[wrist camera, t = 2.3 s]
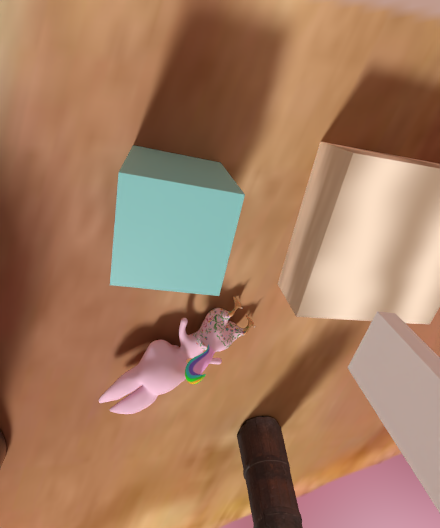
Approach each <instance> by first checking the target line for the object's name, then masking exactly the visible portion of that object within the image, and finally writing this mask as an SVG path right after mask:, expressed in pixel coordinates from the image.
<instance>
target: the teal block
mask: <svg viewBox="0 0 440 528" xmlns="http://www.w3.org/2000/svg"><path fill="white" fill-rule="evenodd" d="M244 196H245V194H244V193H243V192H242V190H241V189H240V188H239V186H238V185H237V184H236V182H235V181H234V180H233V178H232V177H231V176H230V174H229V173H228V172H227V170H226V169H225V168H224V166H223V165H222V164H221V163H220V162H215V161H210V160H205V159H200V158H195V157H190V156H185V155H180V154H175V153H170V152H165V151H160V150H155V149H150V148H145V147H140V146H135V145H133V147H132V148H131V150H130V152H129V154H128V156H127V158H126V160H125V162H124V163H123V165H122V167H121V169H120V171H119V175H118V188H117V201H116V214H115V227H114V239H113V252H112V265H111V278H110V285H115V286H125V287H135V288H145V289H155V290H165V291H175V292H185V293H194V294H204V295H214V296H219V295H220V291H221V287H222V283H223V279H224V275H225V271H226V267H227V263H228V259H229V255H230V251H231V247H232V243H233V240H234V236H235V232H236V228H237V224H238V220H239V216H240V212H241V208H242V204H243V200H244Z"/></svg>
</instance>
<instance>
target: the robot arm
mask: <svg viewBox="0 0 440 528" xmlns="http://www.w3.org/2000/svg"><path fill="white" fill-rule="evenodd" d="M348 369H349V371H350V372H351V374H352V376H353V377H354V379H355V380H356V382H357V383H358V385H359V387H360V388H361V390H362V391H363V393H364V394H365V396H366V398H367V399H368V401H369V402H370V404H371V406H372V407H373V409H374V410H375V412H376V413H377V415H378V417H379V418H380V420H381V421H382V423H383V424H384V426H385V428H386V429H387V431H388V432H389V434H390V435H391V437H392V439H393V440H394V442H395V443H396V445H397V446H398V448H399V450H400V451H401V453H402V454H403V456H404V457H405V459H406V461H407V462H408V464H409V465H410V467H411V468H412V470H413V472H414V473H415V475H416V476H417V478H418V479H419V481H420V482H421V484H422V486H423V487H424V489H425V490H426V492H427V493H428V495H429V497H430V498H431V500H432V501H433V503H434V505H435V506H436V508H437V509H438V511H439V512H440V358H439V357H438V356H437V355H436V354H435V353H434V352H433V351H432V350H431V349H430V348H429V347H428V346H427V345H426V344H425V343H424V342H423V341H422V340H421V339H420V338H419V337H418V336H417V335H416V334H415V333H414V332H413V331H412V330H411V329H410V328H409V327H408V325H407V324H406V323H405V322H404V321H403V320H402V319H401V318H400V317H399V316H398V315H397V314H396V313H388V312H378V311H377V313H376V315H375V317H374V318H373V320H372V322H371V324H370V326H369V328H368V330H367V332H366V334H365V336H364V337H363V339H362V341H361V343H360V345H359V347H358V349H357V351H356V353H355V355H354V356H353V358H352V360H351V362H350V364H349V366H348ZM5 455H6V442H5V439H4V437H3V434H2V433H1V431H0V468H1V466H2V463H3V461H4V459H5Z"/></svg>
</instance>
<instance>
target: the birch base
mask: <svg viewBox="0 0 440 528" xmlns="http://www.w3.org/2000/svg"><path fill="white" fill-rule="evenodd" d="M278 286H279V287H280V289H281V291H282V293H283V294H284V296H285V298H286V299H287V301H288V303H289V305H290V306H291V308H292V310H293V312H294V313H295V315H296V317H311V318H328V319H345V320H363V321H372V320H373V318H374V317H375V315H376V313H377V311H378V312H388V313H396V314H397V315H398V316H399V317H400V318H401V319H402V320H403V321H404V322H405V323H415V324H430V323H431V321H432V319H433V317H434V316H435V314H436V312H437V310H438V309H439V307H440V164H439V163H434V162H428V161H423V160H418V159H412V158H407V157H401V156H396V155H391V154H385V153H380V152H374V151H369V150H364V149H358V148H353V147H347V146H342V145H337V144H331V143H326V142H320V145H319V148H318V151H317V155H316V158H315V161H314V165H313V168H312V171H311V175H310V178H309V181H308V185H307V188H306V191H305V195H304V198H303V201H302V205H301V208H300V212H299V215H298V218H297V222H296V225H295V228H294V232H293V235H292V238H291V242H290V245H289V248H288V252H287V255H286V258H285V262H284V265H283V268H282V272H281V275H280V278H279V282H278Z"/></svg>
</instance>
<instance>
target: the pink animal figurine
mask: <svg viewBox="0 0 440 528" xmlns="http://www.w3.org/2000/svg"><path fill="white" fill-rule="evenodd" d="M234 297H235V296H234ZM234 297H233V299H234V302H235V308H234V309H233V310H232V311H226V310H224V309H222V308H214V309H212V310H211V311H210V312H209V313H208V314H207V316H206V317H205V319H204V321H203V323H202V325H201V328H200V329H199V330H198V331H197V332H195V333H192V334H190V335H187V334H186V330H185V328H186V325H187V323H188V320H187V318H182V320H181V323H180V327H179V339H180V343H181V347H180V348H179V346H177V345H171V344H170V343H169V342H167V341H165V340H155V341H153V342H151V343H150V345H149V346H148V348H147V350H146V351H145V353H144V355H143V357H142V359H141V360H140V362H139V363H138V365H137V366H135V367H134V368H132V369H130V370H128V371H127V372H125V373H124V374H123V375H122V376H120V377H119V378H118V379H117V380H116V381H115V382H114V384H113V385H112V386H110V387H109V388H108V389H107V390H106V391H105V393H104V394H103V395H102V396H101V397H100V398H99V402H100V403H103V402H108V401H113V400H117V399H120V398H122V397H123V396H125V395H127V394H129V393H131V392H132V393H131V394H130V395H128V396H127V397H126V398H124V399H123V400H121V401H120V402H118V403H117V404H116V405H114V406H113V407H111V408H110V411H111V412H115V413H120V414H133V413H136V412H139V411H141V410H143V409H145V408H147V407H148V406H149V405H151V404H152V403H153V402H154V401H155V400H156V398H157V396H158V395H160V394H164V393H167V392H169V391H171V390H172V389H174V388H175V387H176V386H177V385H179V384H180V383H181V382H182V381H184V380H185V379H186V380H187V381H188V382H189V383H190V384H197V383H199V382H200V381H201V380H202V379H203V378H204V377H205V375H206V374H204V375H201V374H202V372H203V371H204V370H205V368H206V367H207V366H208V364H209V363H210V364H221V362H222V360H221V359H220V358H212V357H213V354H214V353H215V352H216V351H222V350H225V349H227V348H228V347H229V346H230V345H231V344H232V343H233V342H234V341H235V340H236V339H237V338H238V337H240V336H242V335H246V334H247V332H248V330H249V328H250V327H251V326H253V327H256V326H254V325H253V324H254V323H253V321H252V320H251V319H250V318H249V317H248V316H247V314H246V317H247V320H248V326H247V327H246V328H244V329H243V328H240V327H238V326H237V325H236V324H235V323H234V322H232V321H228V320H229V319H230V317H231V316H233V314H234V312H235V311H236V310H237V309H238V307H239V308H241V309H242V307H240V306H241V304H240V303H239V301H238V300H237V299H235V298H234ZM203 350H206V351H205V352H204V353H203ZM188 358H193V359H191V360H190V361H189V362H188V364H187V363H186V360H187V359H188ZM141 385H142V386H141ZM139 386H141V387H139ZM138 387H139V388H138ZM137 388H138V389H137ZM134 390H135V391H134ZM133 391H134V392H133Z"/></svg>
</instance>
